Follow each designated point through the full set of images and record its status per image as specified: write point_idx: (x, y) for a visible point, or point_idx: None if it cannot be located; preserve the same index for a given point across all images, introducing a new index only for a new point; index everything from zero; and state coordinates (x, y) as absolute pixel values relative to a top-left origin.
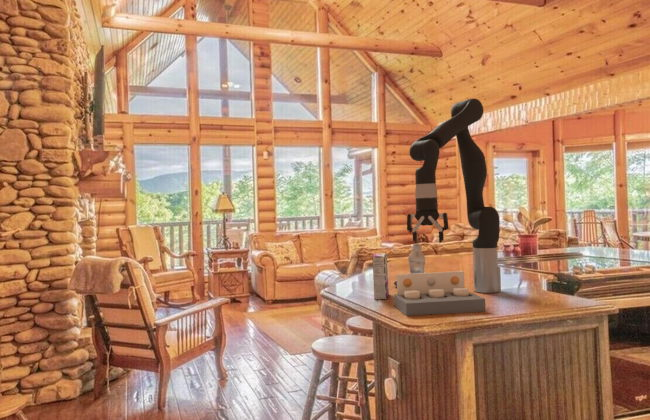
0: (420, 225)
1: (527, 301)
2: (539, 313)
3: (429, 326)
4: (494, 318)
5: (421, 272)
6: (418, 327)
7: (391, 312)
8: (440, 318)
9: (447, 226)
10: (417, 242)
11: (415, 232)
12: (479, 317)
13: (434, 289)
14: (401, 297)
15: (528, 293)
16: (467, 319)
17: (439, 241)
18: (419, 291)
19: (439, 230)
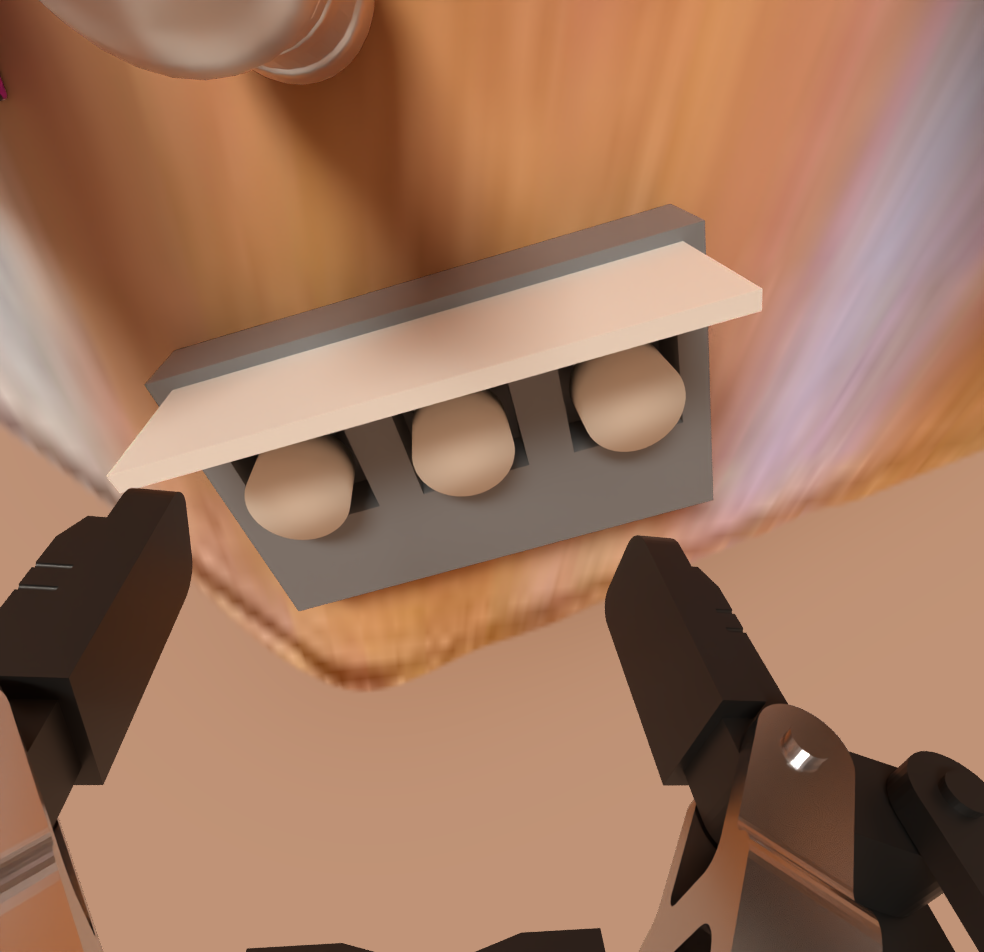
0: (74, 920)
1: None
2: (890, 483)
3: (417, 675)
4: None
5: (301, 37)
6: (379, 687)
7: (212, 509)
8: (461, 586)
9: (907, 925)
10: (184, 502)
11: (67, 771)
12: None
13: (450, 434)
14: (234, 484)
15: None
16: (567, 589)
17: (612, 622)
18: (350, 498)
19: (692, 828)
